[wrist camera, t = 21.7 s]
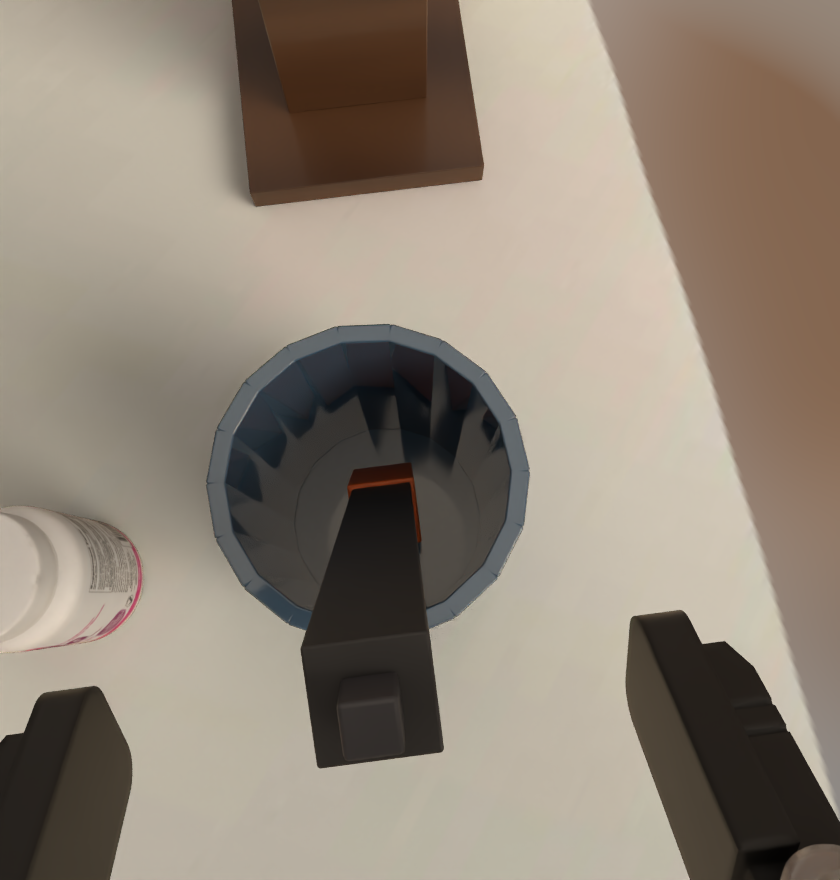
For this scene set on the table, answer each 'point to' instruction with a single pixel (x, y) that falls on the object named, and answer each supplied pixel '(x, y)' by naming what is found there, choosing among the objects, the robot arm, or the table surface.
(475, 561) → the pen cup
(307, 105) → the pedestal
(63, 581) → the pill bottle
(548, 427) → the table surface
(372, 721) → the marker
